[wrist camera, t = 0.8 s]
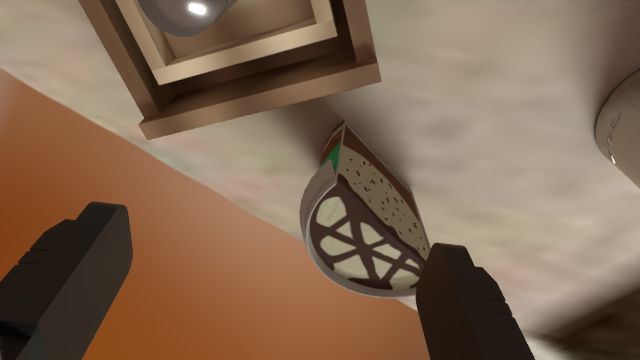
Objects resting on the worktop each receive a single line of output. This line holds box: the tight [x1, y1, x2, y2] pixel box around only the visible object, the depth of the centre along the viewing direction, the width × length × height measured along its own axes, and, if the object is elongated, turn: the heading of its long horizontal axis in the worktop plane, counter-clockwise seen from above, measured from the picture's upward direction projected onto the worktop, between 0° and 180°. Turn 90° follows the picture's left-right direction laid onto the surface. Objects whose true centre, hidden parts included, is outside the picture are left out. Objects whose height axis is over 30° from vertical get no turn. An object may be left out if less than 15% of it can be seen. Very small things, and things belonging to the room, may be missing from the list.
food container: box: [300, 120, 431, 298], centre depth 31 cm, size 12×6×10 cm, turn 42°
